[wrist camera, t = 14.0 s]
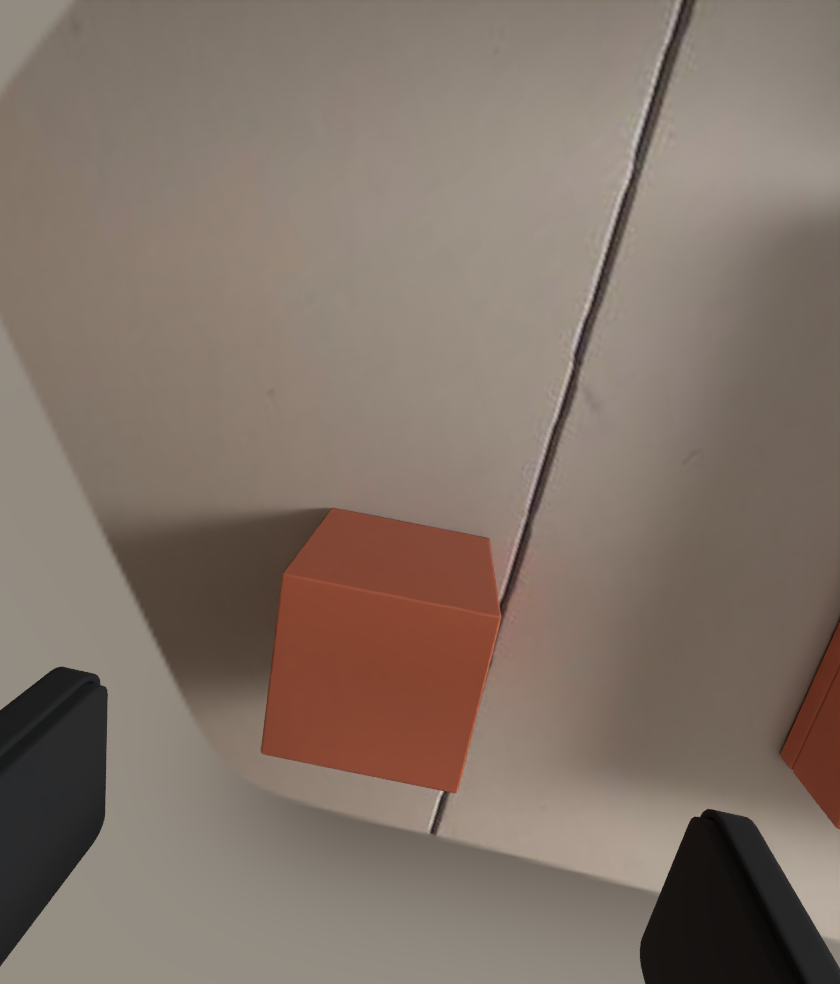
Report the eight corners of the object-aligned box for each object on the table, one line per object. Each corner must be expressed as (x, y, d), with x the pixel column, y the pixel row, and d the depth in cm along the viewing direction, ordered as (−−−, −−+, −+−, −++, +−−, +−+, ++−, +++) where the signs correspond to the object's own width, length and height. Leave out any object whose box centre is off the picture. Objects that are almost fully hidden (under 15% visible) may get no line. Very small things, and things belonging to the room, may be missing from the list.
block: (312, 645, 16) (259, 754, 12) (331, 506, 15) (281, 573, 11) (457, 675, 16) (457, 795, 12) (489, 537, 15) (501, 616, 11)
